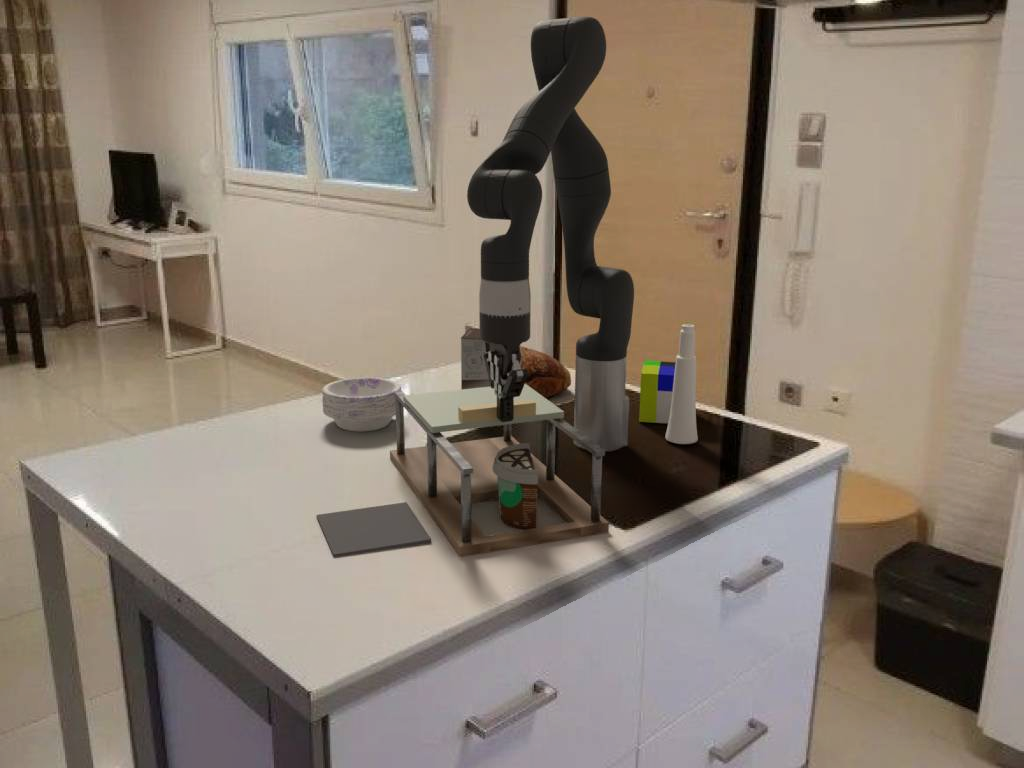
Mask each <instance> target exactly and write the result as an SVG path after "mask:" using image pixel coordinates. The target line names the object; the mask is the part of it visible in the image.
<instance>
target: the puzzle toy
mask: <svg viewBox="0 0 1024 768" xmlns="http://www.w3.org/2000/svg"><path fill="white" fill-rule="evenodd" d="M675 364H676V361H662V360H661V361H659V360H658V361H657V360H644V362H643V366H642V369H641V372H640V390H639V412H638V413H639V416H638V422H639V423H652V424H653V423H654V424H667V425H668V422H669V417H670V410H671V402H672V393H673V383H674V373H675Z"/></svg>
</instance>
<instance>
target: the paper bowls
mask: <svg viewBox="0 0 1024 768" xmlns="http://www.w3.org/2000/svg"><path fill="white" fill-rule="evenodd" d="M401 390H402V387H401V385H400V383H398V382H396V381H394V380H391V379H386V378H381V377H380V378H379V377H354V378H353V377H352V378H346V379H340V380H335V381H332V382H330V383H327V384H326V385H324V386H323V387H322V391H321V393H322V400H321V401H322V413H323V414H324V415H325V416H326V417H328V418H331V419H333V421H334V422H335V425H336V426H337V427H339V429H342V430H345V431H348V432H357V433H359V432H360V433H362V432H365V433H366V432H373V431H378V430H381V429H383V428H385V427H387V426H388V425H389V424H390V422H391V420H392V419H393V417H394V416H396V408H395V396H394V391H401Z"/></svg>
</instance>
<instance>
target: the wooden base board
mask: <svg viewBox="0 0 1024 768" xmlns="http://www.w3.org/2000/svg"><path fill="white" fill-rule="evenodd" d="M450 444H451V445H452V446H453V447H454V448H455V449H456V450H457V451H458V452H459V453H460V454H461V455H462V457H463V458H464V459H465V460H466V461H467V462H468V463H469V464H470V465H471V466H472V467H473V474H471V504H474V503H480V502H487V501H488V502H489V501H492V500H493V501H495V500H499V493H498V479H497V475H495V473H494V472H493V464H494V459H495V457H496V455H497V453H498V452H499V451H500V450H501V449H503V448H505V447H508V446H512V445H516V444H521V443H520V442H519V441H518V440H517V439H516V438H515V437H514V436H512V435H511V441H504V436H498V437H491V438H483V439H475V440H466V441H458V442H450ZM530 454H531V457H532V459H533V464H534V468H535V470H538V484H537V496H539V498H541V499H542V500H543V501H544V502H545V503H546V504H547V505H548V506H549V507H550V508H551V509H552V510H553V511H554V512H555V513H556V514H557V515H558V516H559V517H560V518H561V519H562V520H563V521H564V522H565V523H560V524H559V523H557V524H553V525H545V526H541V527H536V528H533V529H526V530H520V529H519V530H514V531H509V532H503V533H501V532H500V533H496V534H491V535H485V532H483V531H482V529H480V527H479V526H478V525H477V524H476V522H475V521H474V520H473V519H472V517H471V529H472V541H471V542H469V543H464V542H462V529H461V472H460V470H459V469H458V468H457V467H456V466H455V465H454V464H453V462H452V461H451V460H450V459H449V458H448V457H447V456H446V454H445V453H444V452H443V451H442V450H441V449H440V448H439V447H438V445H437V444H436V456H437V497H429V496H428V459H427V445H425V446H417V447H409V448H408V447H407V448H405V454H403V455H398V454H397V449H393V450H389V458H390V460H391V461H392V463H393V464H394V466H395V467H396V468H397V470H398V472H399V473H400V474H401V476H402V477H403V479H404V480H405V481H406V482H407V484H408V486H409V488H411V490H412V491H413V492H414V494H415V496H416V497H417V498H418V500H419V501H420V503H421V504H422V506H423V507H424V508H425V510H426V511H427V512H428V514H429V515H430V517H431V518H432V519H433V521H434V522H435V524H436V525H437V527H438V528H439V530H440V531H441V532H442V533H443V535H444V536H445V538H446V539H447V541H448V542H449V544H450V546H452V548H453V549H454V550H455V552H456V554H457V555H458V556H459V557H461V558H462V557H466V556H471V555H478V554H484V553H490V552H495V551H496V552H497V551H501V550H508V549H514V548H519V547H521V548H522V547H525V546H526V547H527V546H533V545H538V544H544V543H550V542H556V541H563V540H568V539H573V538H580V537H581V538H582V537H586V536H591V535H598V534H604V533H605V534H606V533H609V530H610V529H609V528H610V522H609V521H608V520H607V519H606V518H604V517H603V516H602V515H601V514H600V521H599V522H592V521H591V504H589V503H588V502H586V501H585V500H584V499H583V497H581V496H579V495H578V493H576V492H575V490H573V489H572V488H571V487H569V486H568V485H567V484H566V482H564V481H563V480H562V479H561V478H559V476H557V475H556V474H555V479H554V480H552V481H548V480H546V464H544V463H542V462H541V460H539V459H538V458H537V457H536V456H534V454H532V452H530Z"/></svg>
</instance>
